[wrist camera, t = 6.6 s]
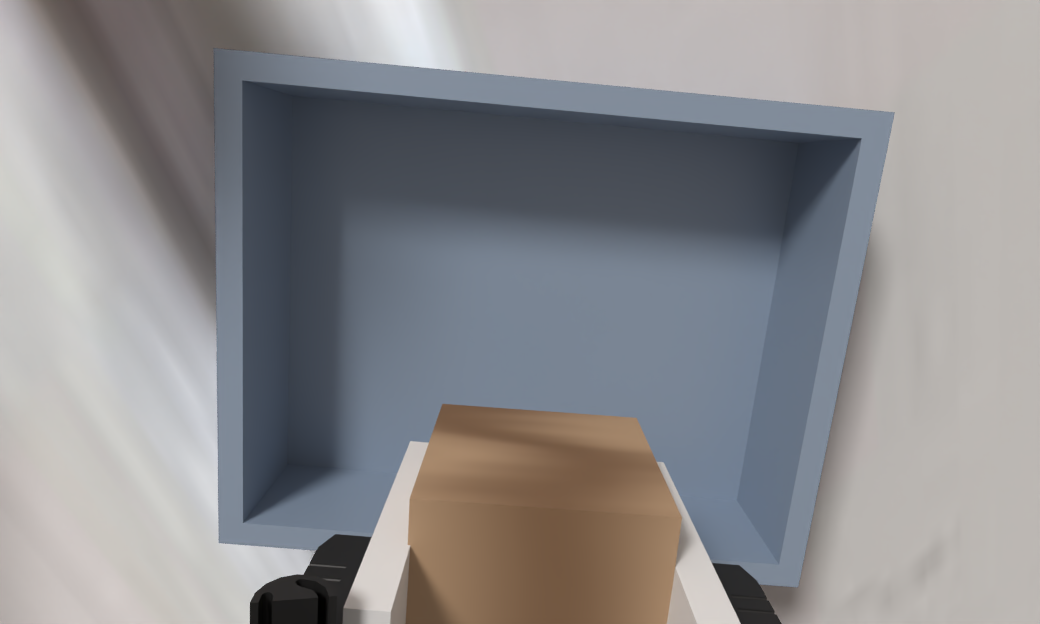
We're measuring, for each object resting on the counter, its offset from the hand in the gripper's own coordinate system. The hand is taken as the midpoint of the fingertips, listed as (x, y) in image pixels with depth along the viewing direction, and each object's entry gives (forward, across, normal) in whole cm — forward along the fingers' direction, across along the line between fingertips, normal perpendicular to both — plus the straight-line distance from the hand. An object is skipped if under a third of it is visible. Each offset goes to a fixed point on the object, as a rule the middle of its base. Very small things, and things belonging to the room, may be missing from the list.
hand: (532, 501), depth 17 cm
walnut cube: (0, 0, 0) cm, 0 cm away
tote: (+9, 0, +3) cm, 10 cm away
